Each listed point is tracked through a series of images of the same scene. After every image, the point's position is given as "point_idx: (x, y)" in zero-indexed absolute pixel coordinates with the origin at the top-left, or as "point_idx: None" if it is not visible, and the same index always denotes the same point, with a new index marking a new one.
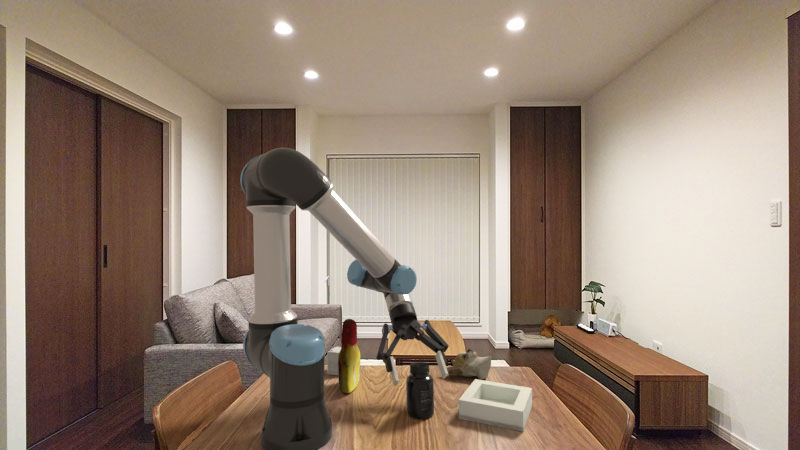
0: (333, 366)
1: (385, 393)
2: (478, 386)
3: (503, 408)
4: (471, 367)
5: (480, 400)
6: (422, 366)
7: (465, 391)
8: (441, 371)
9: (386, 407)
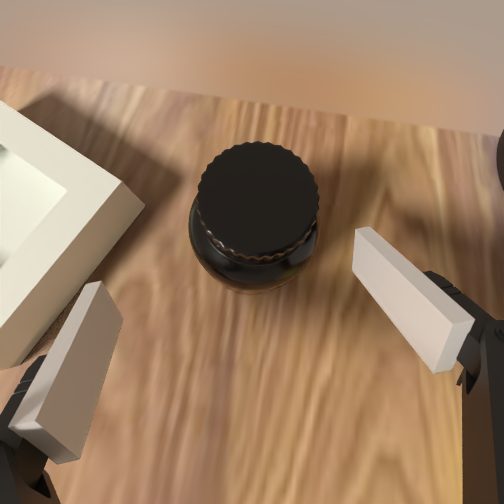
0: None
1: (352, 440)
2: None
3: (4, 103)
4: None
5: (48, 163)
6: (245, 162)
7: (65, 248)
8: (109, 334)
9: (352, 313)
